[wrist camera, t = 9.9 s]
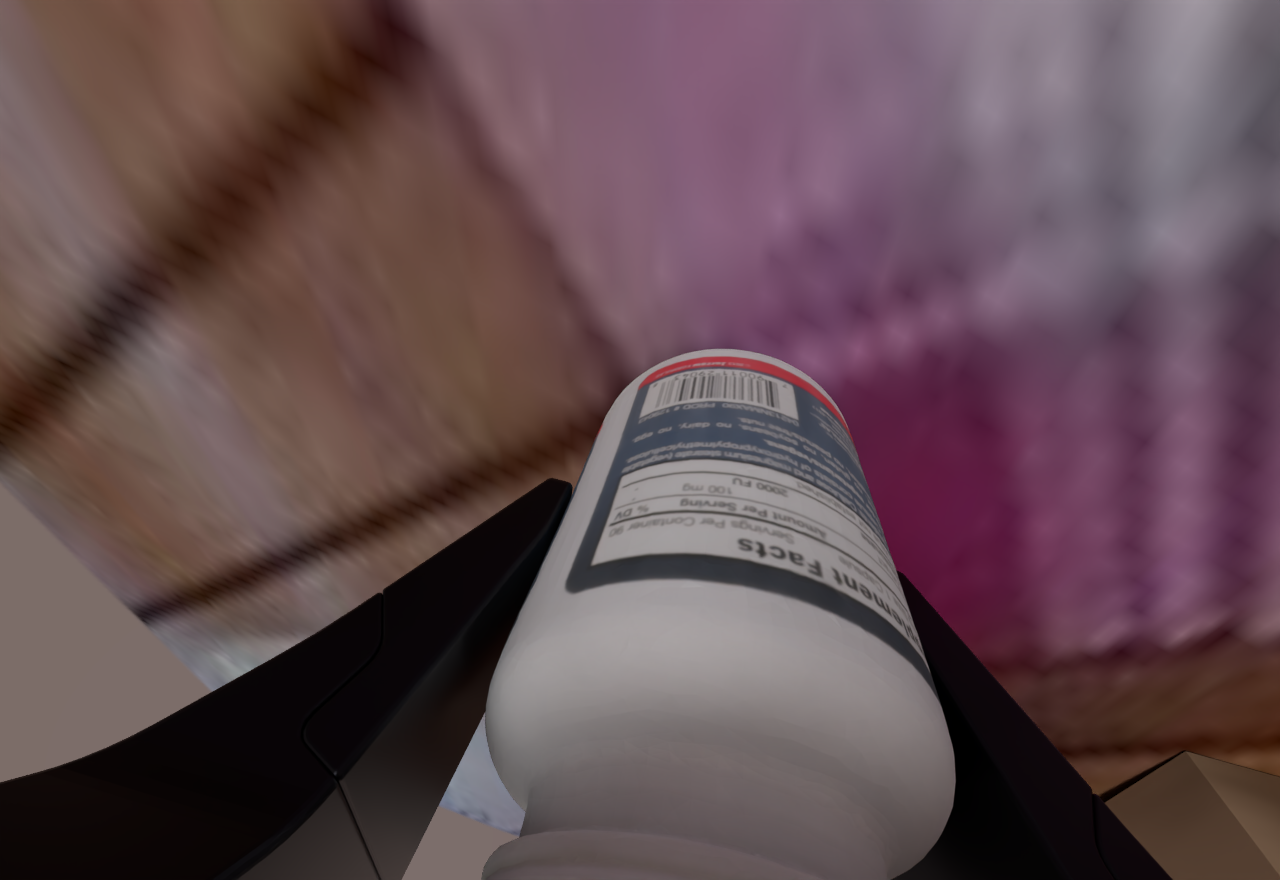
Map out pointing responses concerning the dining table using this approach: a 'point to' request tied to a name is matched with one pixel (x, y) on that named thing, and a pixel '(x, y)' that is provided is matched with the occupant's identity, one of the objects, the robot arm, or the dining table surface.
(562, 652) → the pill bottle
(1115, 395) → the dining table surface
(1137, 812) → the walnut block
